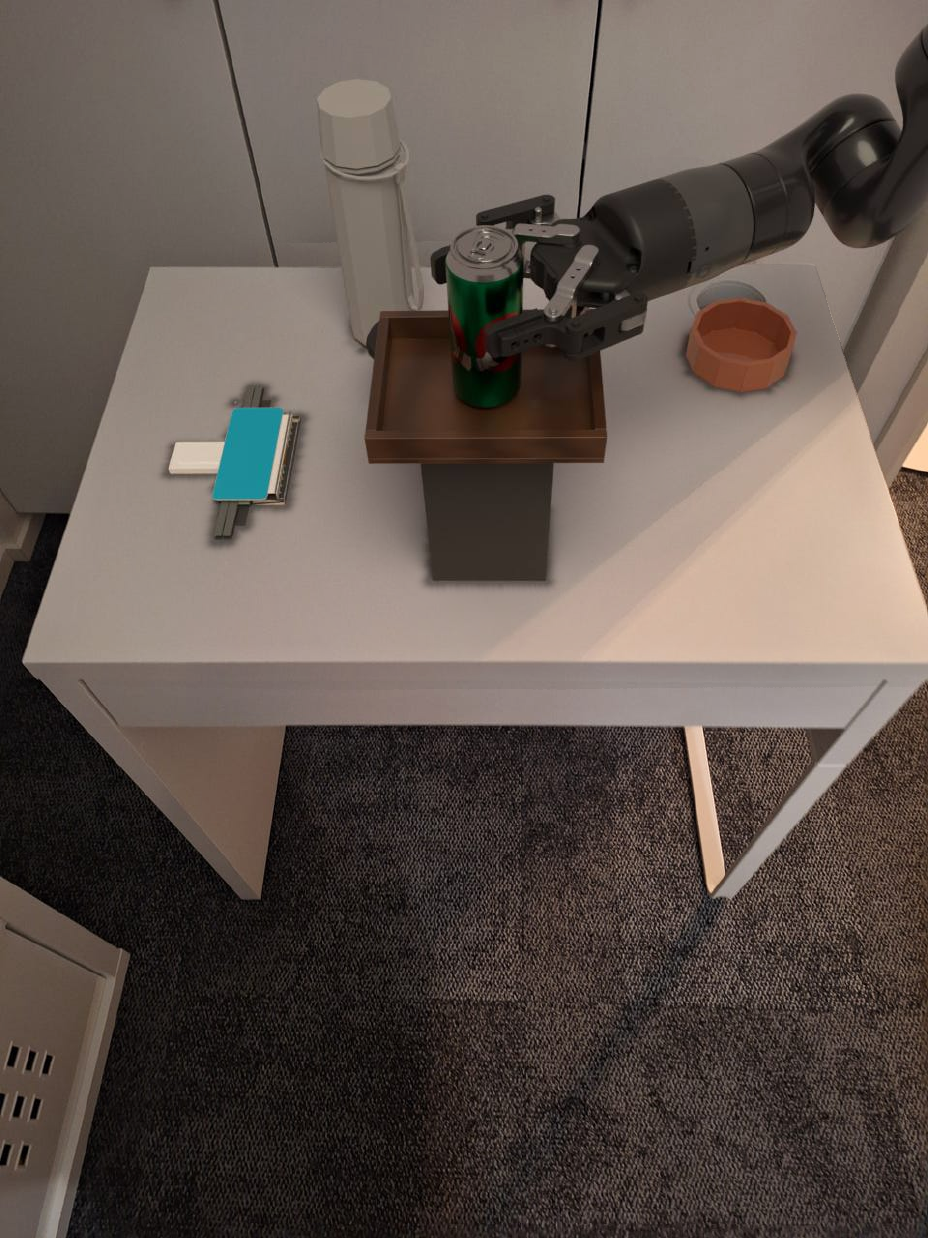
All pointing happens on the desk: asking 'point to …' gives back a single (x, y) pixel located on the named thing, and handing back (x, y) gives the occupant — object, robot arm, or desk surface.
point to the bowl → (740, 344)
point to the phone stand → (245, 460)
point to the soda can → (483, 312)
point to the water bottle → (368, 200)
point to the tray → (460, 433)
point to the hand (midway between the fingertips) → (459, 305)
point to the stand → (488, 520)
